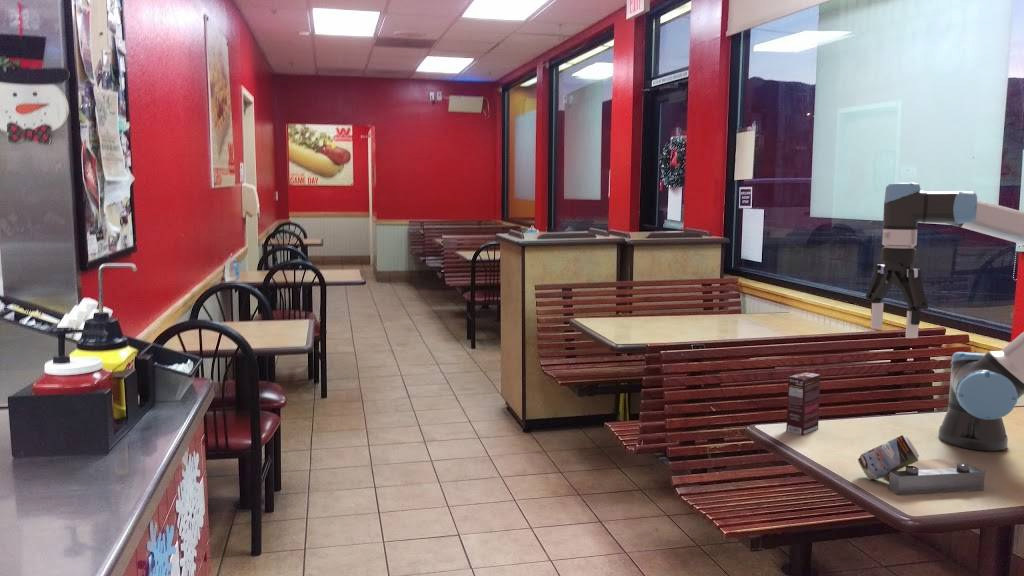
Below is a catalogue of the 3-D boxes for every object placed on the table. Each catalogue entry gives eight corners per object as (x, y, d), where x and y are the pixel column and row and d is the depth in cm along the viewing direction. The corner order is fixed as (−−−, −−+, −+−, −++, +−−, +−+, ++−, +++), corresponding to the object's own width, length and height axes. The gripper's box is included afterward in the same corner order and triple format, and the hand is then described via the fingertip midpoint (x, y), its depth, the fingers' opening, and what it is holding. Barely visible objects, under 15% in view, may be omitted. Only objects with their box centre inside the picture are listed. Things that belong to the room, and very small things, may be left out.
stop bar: (973, 484, 167) (974, 461, 167) (983, 490, 164) (985, 466, 164) (888, 489, 164) (890, 466, 164) (897, 495, 161) (899, 471, 161)
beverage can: (919, 448, 163) (863, 470, 165) (926, 468, 167) (871, 488, 169) (904, 426, 168) (850, 448, 170) (911, 446, 172) (859, 466, 174)
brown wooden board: (943, 471, 177) (944, 458, 177) (975, 487, 167) (976, 474, 167) (879, 474, 175) (880, 462, 174) (908, 491, 165) (909, 477, 165)
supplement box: (801, 429, 207) (804, 371, 206) (818, 433, 204) (821, 374, 202) (784, 435, 202) (787, 376, 200) (801, 440, 198) (804, 379, 196)
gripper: (854, 244, 199) (849, 325, 202) (919, 250, 175) (913, 342, 177) (880, 243, 201) (876, 324, 203) (949, 250, 176) (942, 341, 178)
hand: (893, 333), depth 190 cm, fingers open, 13 cm apart
